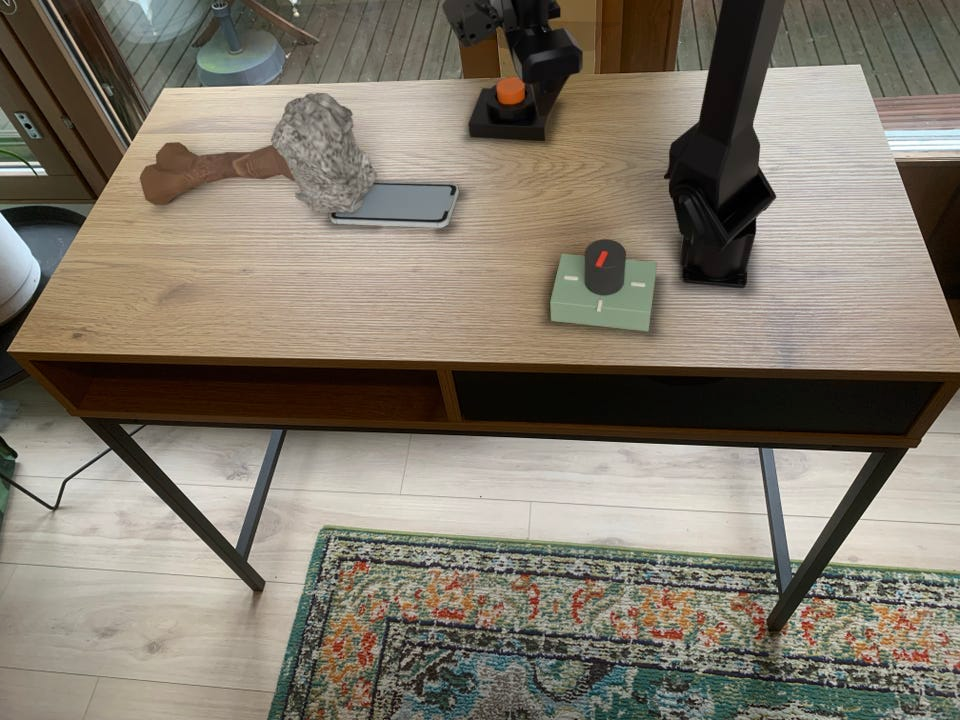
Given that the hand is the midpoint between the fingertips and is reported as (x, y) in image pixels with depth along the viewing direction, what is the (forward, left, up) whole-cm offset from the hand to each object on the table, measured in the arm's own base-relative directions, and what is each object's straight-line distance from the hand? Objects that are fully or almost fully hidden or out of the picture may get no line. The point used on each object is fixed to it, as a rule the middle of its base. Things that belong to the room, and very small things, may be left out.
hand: (531, 93), depth 84 cm
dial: (-11, +21, -8) cm, 25 cm away
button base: (+5, -9, -11) cm, 15 cm away
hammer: (+33, +9, -11) cm, 36 cm away
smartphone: (+16, +9, -11) cm, 21 cm away
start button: (+5, -9, -7) cm, 13 cm away
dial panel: (-11, +21, -11) cm, 26 cm away
